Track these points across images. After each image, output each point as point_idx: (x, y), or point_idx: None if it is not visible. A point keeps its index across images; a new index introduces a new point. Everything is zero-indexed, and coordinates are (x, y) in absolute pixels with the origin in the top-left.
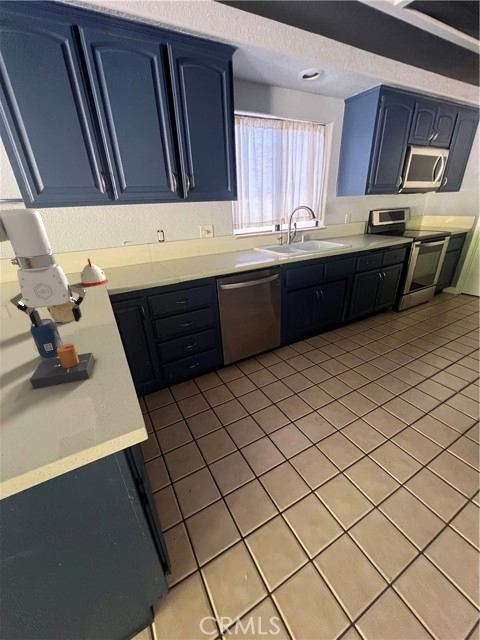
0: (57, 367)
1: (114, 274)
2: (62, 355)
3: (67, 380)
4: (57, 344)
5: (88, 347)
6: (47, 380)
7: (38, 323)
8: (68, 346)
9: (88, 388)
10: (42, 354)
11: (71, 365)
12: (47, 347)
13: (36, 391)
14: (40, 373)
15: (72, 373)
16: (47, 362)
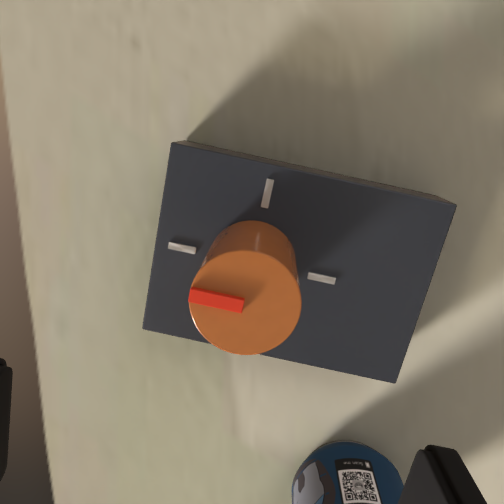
0: (320, 259)
1: None
2: (273, 249)
3: (282, 162)
4: (313, 495)
5: (183, 453)
6: (372, 184)
7: (423, 499)
8: (223, 298)
9: (188, 35)
10: (389, 467)
11: (246, 222)
12: (363, 485)
13: (423, 160)
14: (404, 242)
15: (248, 158)
16: (368, 346)
